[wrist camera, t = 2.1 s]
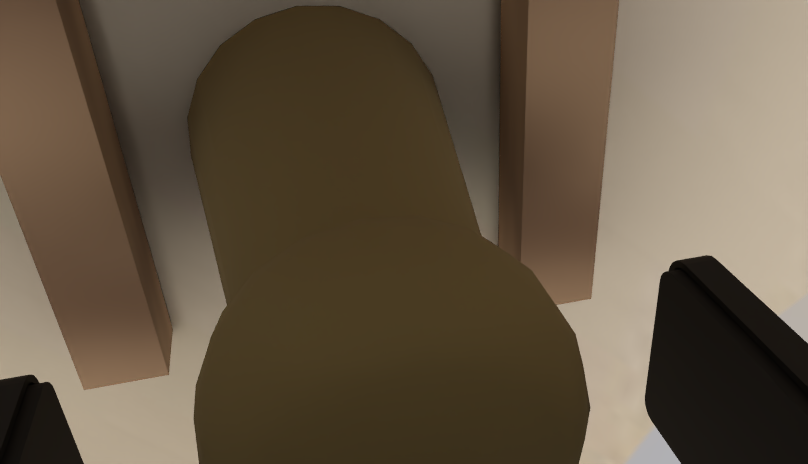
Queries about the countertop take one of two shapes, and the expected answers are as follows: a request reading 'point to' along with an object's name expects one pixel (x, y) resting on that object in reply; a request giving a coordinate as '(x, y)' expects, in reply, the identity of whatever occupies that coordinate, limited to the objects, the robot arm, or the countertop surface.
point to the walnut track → (120, 219)
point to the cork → (362, 267)
